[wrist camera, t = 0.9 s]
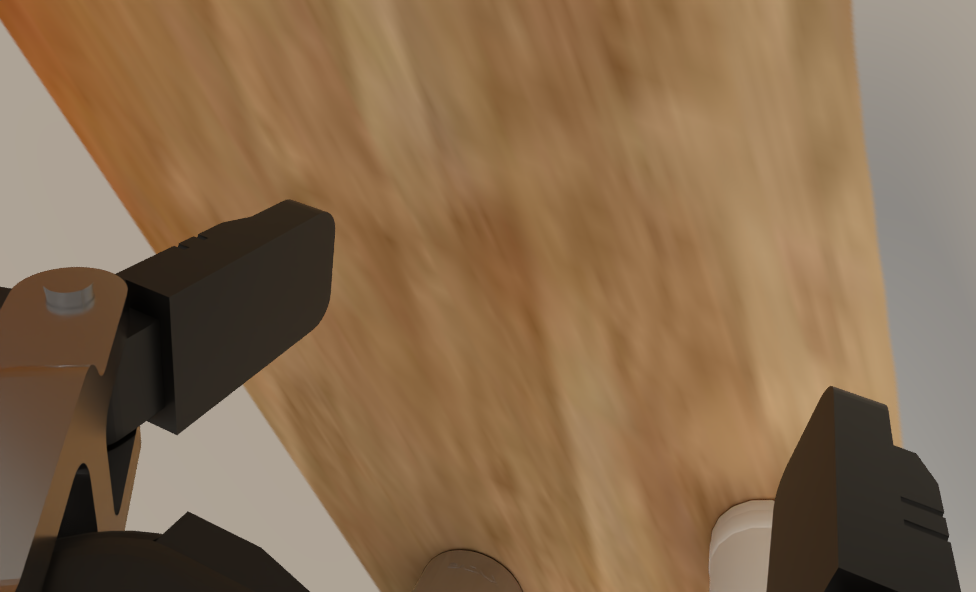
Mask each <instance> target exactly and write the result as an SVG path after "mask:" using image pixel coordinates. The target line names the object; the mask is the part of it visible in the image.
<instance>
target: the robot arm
mask: <svg viewBox="0 0 976 592" xmlns="http://www.w3.org/2000/svg"><path fill="white" fill-rule="evenodd" d="M334 239H335V222H334V219H333V217H332V215H331V214H330V213H328V212H325V211H322V210H319V209H316V208H313V207H311V206H308V205H305V204H302V203H299V202H296V201H293V200H285V201H282V202H280V203H278V204H276V205H274V206H272V207H270V208H268V209H266V210H264V211H262V212H260V213H258V214H256V215H254V216H252V217H248V218H243V219H238V220H233V221H228V222H223V223H221V224H218V225H216V226H214V227H212V228H210V229H208V230H206V231H204V232H202V233H200V234H198V237H194V236H193V237H191V238H189V239H187V240H185V241H183V242H181V243H179V245H178V247H175V246H173V247H171V248H168V249H166V250H164V251H162V252H160V253H158V254H156V255H154V256H152V257H150V258H148V259H146V260H144V261H141V262H139V263H137V264H135V265H133V266H131V267H129V268H127V269H125V270H123V271H121V272H119V273H116V274H113V273H111V272H108V271H105V270H101V269H95V268H87V267H68V268H59V269H53V270H49V271H44V272H40V273H38V274H35V275H32V276H30V277H28V278H25V279H24V280H22V281H21V282H19V283H18V284H17V285H15V286H14V287H13V288H12V289H11V288H4V287H0V592H310V591H309V590H307V589H306V588H305V587H304V586H303V585H302V584H301V583H300V582H299V581H297V580H296V579H295V578H294V577H293V576H292V575H291V574H290V573H288V572H287V571H286V570H285V569H284V568H283V567H282V566H281V565H280V564H279V563H278V562H276V561H275V560H274V559H273V558H272V557H271V556H270V555H269V554H267V553H266V552H265V551H264V550H263V549H262V548H261V547H258V546H257V545H255V544H253V543H250V542H249V541H247V540H244V539H242V538H240V537H238V536H236V535H234V534H232V533H230V532H228V531H226V530H224V529H222V528H220V527H218V526H216V525H214V524H212V523H210V522H208V521H206V520H204V519H202V518H200V517H198V516H196V515H194V514H192V513H190V512H187V513H186V514H185V515H184V516H182V517H181V518H180V519H179V520H178V521H177V522H176V523H175V524H174V525H172V526H171V527H170V528H169V529H168V530H167V531H166V532H165V533H164V534H159V533H149V532H140V531H125V525H126V520H127V515H128V510H129V505H130V499H131V494H132V490H133V484H134V479H135V474H136V469H137V464H138V458H139V453H140V448H141V434H140V425H141V424H143V423H144V422H145V421H148V422H150V423H152V424H154V425H156V426H159V427H161V428H163V429H165V430H167V431H169V432H171V433H174V434H176V435H178V434H179V433H180V432H182V431H183V430H184V429H186V428H187V427H188V426H189V425H191V424H192V423H193V422H195V421H196V420H197V419H198V418H200V417H201V416H202V415H204V414H205V413H206V412H207V411H209V410H210V409H211V408H213V407H214V406H215V405H216V404H218V403H219V402H220V401H222V400H223V399H224V398H226V397H227V396H228V395H229V394H230V393H232V392H233V391H235V390H236V389H237V388H238V387H240V386H241V385H242V384H244V383H245V382H246V381H247V380H249V379H250V378H251V377H253V376H254V375H255V374H256V373H258V372H259V371H260V370H262V369H263V368H264V367H265V366H267V365H268V364H269V363H271V362H272V361H273V360H274V359H276V358H277V357H278V356H280V355H281V354H282V353H284V352H285V351H286V350H287V349H289V348H290V347H291V346H293V345H294V344H295V343H296V342H298V341H299V340H300V339H302V338H303V337H304V336H305V335H307V334H308V333H309V332H311V331H312V330H313V329H314V328H315V327H316V326H317V325H318V324H319V323H320V321H321V320H322V318H323V316H324V314H325V312H326V310H327V307H328V304H329V300H330V294H331V281H332V267H333V253H334ZM943 514H944V509H943V505H942V500H941V495H940V491H939V487H938V483H937V482H936V480H935V479H934V477H933V476H932V475H931V473H930V472H929V471H928V469H927V468H926V466H925V465H924V464H923V462H922V461H921V459H920V458H919V457H918V455H917V454H916V453H913V452H911V451H908V450H905V449H902V448H900V447H897V446H894V445H893V440H892V433H891V426H890V419H889V411H888V407H887V406H886V405H885V404H882V403H879V402H876V401H873V400H870V399H867V398H864V397H862V396H859V395H856V394H853V393H850V392H847V391H844V390H841V389H839V388H836V387H833V386H830V387H828V388H827V389H826V391H825V392H824V393H823V395H822V397H821V398H820V400H819V402H818V404H817V406H816V408H815V410H814V412H813V414H812V416H811V418H810V420H809V422H808V424H807V426H806V428H805V430H804V432H803V434H802V436H801V438H800V440H799V442H798V444H797V446H796V448H795V450H794V452H793V454H792V456H791V458H790V460H789V462H788V464H787V466H786V469H785V471H784V473H783V476H782V478H781V481H780V484H779V487H778V490H777V494H776V498H775V502H774V508H773V519H772V531H771V543H770V555H769V566H768V578H767V590H766V592H961V589H960V585H959V580H958V575H957V571H956V566H955V561H954V556H953V552H952V548H951V543H950V542H948V538H949V533H948V528H947V523H946V519H945V518H943ZM412 592H522V590H521V588H520V586H519V584H518V582H517V581H516V580H515V578H514V577H513V576H512V575H511V573H510V572H509V571H507V570H506V569H505V568H504V567H503V566H502V565H501V564H499V563H498V562H496V561H495V560H493V559H491V558H489V557H487V556H485V555H482V554H480V553H476V552H472V551H465V550H455V551H448V552H445V553H442V554H439V555H438V556H436V557H435V558H433V559H432V560H431V561H430V562H429V563H428V565H427V566H426V567H425V569H424V571H423V573H422V575H421V576H420V578H419V580H418V582H417V583H416V585H415V587H414V589H413V590H412Z"/></svg>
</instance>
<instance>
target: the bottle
mask: <svg viewBox="0 0 976 592" xmlns="http://www.w3.org/2000/svg"><path fill="white" fill-rule="evenodd" d="M774 502H775V501H773V500H751V501H748V502H745V503H742V504H739V505H736V506H733V507H732V508H730V509H729V510H728V511H727V512H725V513H724V514H723V515H722V516H720V517H719V519H718V521H717V523H716V524H715V526H714V528H713V530H712V538H711V542H710V550H709V575H710V588H709V592H766V590H767V578H768V566H769V555H770V543H771V531H772V519H773V508H774Z"/></svg>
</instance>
